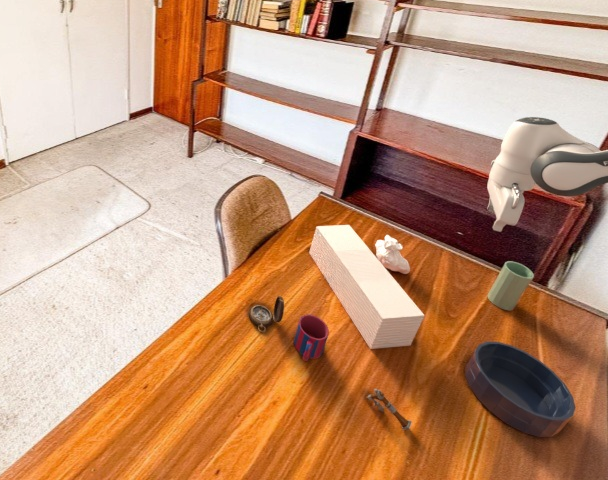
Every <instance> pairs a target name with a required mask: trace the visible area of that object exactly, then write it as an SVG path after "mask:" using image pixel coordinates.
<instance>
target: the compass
mask: <svg viewBox="0 0 608 480" xmlns="http://www.w3.org/2000/svg"><path fill="white" fill-rule="evenodd" d="M284 310H285V301H284V298H283V297H282V296H280V295H278V296H277V297H276V299H275V302H274V308H273V313H272V310H270V308H268V307H267V306H264V305H261V304H254V305H252V306H251V307H250V308H249V311H248V317H249V319H250V321H251V322H252V323H253V324H254V325H256V326H258V327H257V329H258V331H259V332H261V333H264V332H265V331H266V328H267V327H270V326H271V325H272V324H273V323H274V322H275V323H278V324H279V323H281V321H282V320H283V317H284V312H285V311H284ZM260 328H262V329H263V328H264V330H260Z"/></svg>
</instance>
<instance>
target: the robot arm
mask: <svg viewBox="0 0 608 480" xmlns="http://www.w3.org/2000/svg"><path fill="white" fill-rule="evenodd" d="M535 184H536V185H537V186H538V187H539V188H540V189H542V190H543V191H545V192H547V193H549V194H552V195H554V196H557V197H558V196H559V197H566V198H567V197H577V196H580V195H584V194H586V193H588V192H590V191H591V190H594V189H595V188H597V187H600V186H602V185H605V184H608V149H606V150H601V149H600V148H599V147H598V146H596V145H594V144H592V143H590V142H587V141H585V140H582V139H580V138H578V137H576V136H575V135H573V134H572V133H569V132H568V131H567V130H565V128H562V126H561V125H560V124H559V123H558V122H557V121H555V120H553V119H549V118H546V117H538V116H536V117H535V116H529V117H528V116H525V117H521V118H519V119H516V120H515V121H513V123H511V125H510V126H509V128H508V130H507V132H506V134H505V135H504V138H503V140H502V142H501V144H500V152H499V154H498V155H497V156H496V158H495V159H493V160H492V161H491V164H490V172H489V174H488V180H487V183H486V189H487V192H488V195H489V200H488V206H487V208H486V209H487V212H488V213H489V214H493V215H495V220H494V221H493V223H492V224H491V228H492V230H493V231H496V232H500V233H501V232H502V231H503V229H504V227H505V226H506V225H508V226H516V225H517V224H518V222H519V220H520V217H521V215H522V212H523V209H524V208H525V202H526V200H525V197H524V193H525V191H527V192H528V191H532V190H533V189H534V187H535Z"/></svg>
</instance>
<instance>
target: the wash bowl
mask: <svg viewBox="0 0 608 480" xmlns="http://www.w3.org/2000/svg"><path fill="white" fill-rule="evenodd" d="M464 368H465V369H464V370H465V371H464V373H465V375H464V376H465V379H466V382H467V383H468V386H469V388H470V390H471V391H472V392H473V394H474V395H475V396H476V398H477V400H478V401H479V402H480V403H481V405H483V406H484V407H485V408H486V409H487V410H488V411H489V412H490V413H491V414H493V415H494V416H495V417H497V418H499V419H500V420H501V421H503V423H505V424H507V425H509V426H510V427H512V428H514V429H516V430H518V431H520V432H522V433H525V434H528V435H532V436H534V437H538V438H551V437H553V436H555V435H557V434H559V433H560V432H561V431H562V429H564V427H565V426H566V425H567V423H568V422H569V421H570V420H571V419H572V418H573V417H574V415H575V411H576V402H575V399H574V396H573V394H572V393H571V391H570V389H569V388H568V386H567V385H566V383H565V382H564V381H563V379H561V378H560V377H559V376H558V374H556V372H555V371H553V370H552V369H551V368H550V367H549V366H548V365H546V364H545V363H543V362H542V361H541V360H540V359H538V358H536V357H535V356H533V355H532V354H530V353H528V352H527V351H525V350H523V349H520V348H518V347H516V346H513V345H511V344H508V343H505V342H501V341H500V342H499V341H484V342H482V343H480V344H478V345H477V347H476V348H475V349H474V352H473V354H472V355H471V357H470V359H469V360H468V362H467V363H466V365H465V366H464Z"/></svg>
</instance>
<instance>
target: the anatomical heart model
mask: <svg viewBox="0 0 608 480" xmlns="http://www.w3.org/2000/svg"><path fill="white" fill-rule="evenodd" d="M374 245H375V246H374V247H375V251H376V254H375V256H376V258H377V259H378V260H379V261H380V262H381V264H382V265H383V266H384V267H385V268H386V270H390V271H392V272H399V273H401V274H402V275H407V274H409V273H410V271H411V266H410V263H409V262H408V259H406V258H404V256H402V253H401V250H403V247H404V246H403V244H402V243H399V242H398V239H396V238H394V237H392V236H391V235H389V234H386V235H385V236H384V239H383V240H382V239H377V241H376V243H375V244H374Z"/></svg>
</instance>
